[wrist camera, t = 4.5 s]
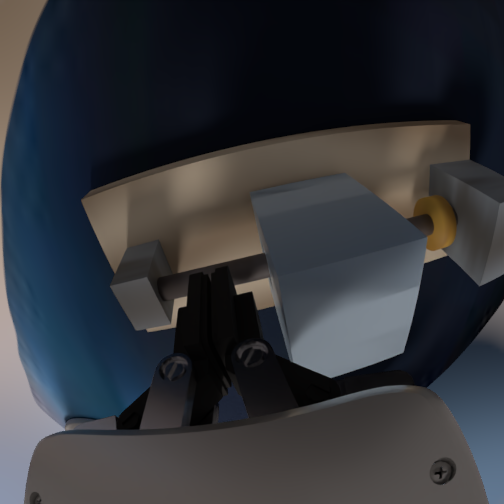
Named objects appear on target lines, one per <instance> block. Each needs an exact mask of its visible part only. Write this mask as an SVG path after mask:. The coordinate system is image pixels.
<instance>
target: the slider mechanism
mask: <svg viewBox="0 0 504 504" xmlns="http://www.w3.org/2000/svg"><path fill="white" fill-rule="evenodd" d="M341 173H346V174H347V175H349V176H350V177H352V178H353V179H355V180H356V181H357V182H359V183H360V184H361V185H363V186H364V187H366V188H367V189H368V190H370V191H371V192H372V193H374V194H375V195H376V196H378V197H379V198H380V199H382V200H383V201H384V202H385V203H387V204H388V205H389V206H391V207H392V208H393V209H394V210H396V211H397V212H398V213H399V214H401V215H402V216H403V217H404V218H406V219H407V220H408V221H409V222H410V223H412V224H413V225H414V226H415V227H416V228H418V229H419V230H420V231H421V232H422V233H423V234H425V235H426V236H427V237H428V238H427V245H426V252H425V259H424V263H426V262H429V261H432V260H435V259H438V258H441V257H444V256H447V255H448V256H449V257H450V258H452V259H453V260H454V261H455V262H456V263H457V264H458V265H459V266H460V267H461V268H462V269H463V270H464V271H465V272H466V273H467V274H468V275H469V276H470V277H471V278H472V279H473V280H474V281H475V282H476V283H477V284H478V285H479V286H481V285H483V284H485V283H487V282H489V281H491V280H493V279H495V278H497V277H499V276H501V275H503V274H504V176H502V175H500V174H498V173H496V172H494V171H492V170H490V169H488V168H486V167H484V166H482V165H480V164H478V163H476V162H473V161H471V160H470V124H467V123H463V122H460V121H456V120H436V121H410V122H393V123H381V124H370V125H360V126H351V127H343V128H335V129H328V130H321V131H314V132H308V133H301V134H295V135H290V136H284V137H279V138H273V139H268V140H263V141H259V142H254V143H249V144H245V145H240V146H236V147H231V148H227V149H223V150H219V151H215V152H211V153H207V154H203V155H199V156H196V157H192V158H188V159H185V160H181V161H178V162H174V163H171V164H168V165H164V166H161V167H158V168H154V169H151V170H148V171H145V172H142V173H139V174H136V175H133V176H130V177H127V178H124V179H121V180H118V181H116V182H113V183H110V184H107V185H105V186H102V187H99V188H97V189H94V190H91V191H90V192H89V193H88V194H87V195H86V196H85V197H84V198H83V199H82V200H81V201H82V204H83V206H84V209H85V211H86V213H87V216H88V218H89V220H90V223H91V225H92V227H93V229H94V232H95V234H96V236H97V238H98V240H99V242H100V245H101V247H102V249H103V251H104V253H105V255H106V257H107V259H108V261H109V263H110V265H111V267H112V269H113V271H114V273H115V275H114V277H113V280H112V282H111V284H110V287H111V289H112V291H113V293H114V294H115V296H116V298H117V300H118V301H119V303H120V305H121V306H122V308H123V310H124V311H125V313H126V315H127V316H128V318H129V320H130V321H131V323H132V324H133V326H134V328H135V329H136V331H137V330H143V329H146V330H147V331H148V332H152V331H158V330H163V329H169V328H174V327H176V323H177V313H178V309H179V308H180V307H185V306H186V305H187V293H188V283H189V275H190V274H194V273H198V272H203V274H208V275H209V278H210V280H211V273H213V272H215V268H219V267H223V266H227V265H228V267H229V270H230V273H231V276H232V279H233V283H234V286H235V289H236V292H237V295H238V294H242V293H247V292H251V291H252V292H253V296H254V299H255V303H256V307H257V310H259V309H264V308H268V307H272V306H275V304H274V300H273V296H272V293H271V289H270V285H269V280H268V278H269V277H270V272H269V267H268V263H267V258H266V255H265V253H263V252H262V248H261V243H260V238H259V234H258V229H257V225H256V220H255V215H254V211H253V206H252V202H251V197H250V193H249V192H253V191H257V190H262V189H266V188H271V187H275V186H280V185H285V184H289V183H294V182H299V181H304V180H309V179H314V178H319V177H324V176H330V175H335V174H341Z"/></svg>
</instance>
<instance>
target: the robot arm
mask: <svg viewBox="0 0 504 504" xmlns="http://www.w3.org/2000/svg"><path fill="white" fill-rule="evenodd" d="M231 381H232V383H233V385H234V386H235V388H236V390H237V392H238V394H239V395H240V396H242V398H243V401H244V404H245V407H246V410H247V414H248V417H249V418H248V419H242V420H236V421H229V422H222V423H218V414H219V404H218V402H219V401H220V400H221V399H222V398H223V396H225V395H228V389H227V388H228V387H231ZM433 463H434V464H433ZM444 483H445V484H444ZM443 484H444V485H443ZM24 504H489V503H488V500H487V496H486V492H485V489H484V486H483V482H482V479H481V476H480V474H479V471H478V468H477V466H476V463H475V460H474V458H473V455H472V453H471V450H470V448H469V446H468V444H467V442H466V439H465V437H464V435H463V433H462V431H461V429H460V427H459V425H458V423H457V422H456V420H455V418H454V417H453V415H452V413H451V411H450V410H449V409H448V407H447V406H446V404H445V403H444V402H443V400H442V399H441V398H440V397H439V396H438V395H437V394H436V393H434V392H433V391H431V390H430V389H427V388H425V387H420V386H415V385H414V381H413V379H412V377H411V376H410V375H409V374H408V373H407V372H404V371H401V370H393V371H387V372H380V373H374V374H366V375H359V376H350V377H345V380H336V381H335V380H333V379H331V378H330V377H327V376H325V375H322V374H320V373H317V372H315V371H312V370H310V369H308V368H305V367H303V366H300V365H298V364H296V363H293V362H291V361H289V360H287V359H284V358H282V357H280V356H277V355H275V353H274V351H273V349H272V347H271V345H270V344H269V343H268V342H267V341H265V340H264V338H263V334H262V329H261V324H260V319H259V315H258V311H257V307H256V303H255V299H254V296H253V292H252V291H251V292H247V293H242V294H238V295H237V292H236V289H235V286H234V283H233V279H232V276H231V273H230V270H229V267H228V265H227V266H223V267H219V268H215V272H213V273H211V280H210V278H209V275H208V274H203V272H198V273H194V274H190V275H189V283H188V293H187V305H186V306H185V307H180V308H179V309H178V313H177V323H176V332H175V342H174V353H173V354H170V355H168V356H166V357H164V358H163V359H162V360H161V361H160V362H159V363H158V365H157V367H156V369H155V373H154V376H153V380H152V384H151V386H150V387H149V388H148V389H147V390H146V391H145V392H144V393H143V394H142V395H141V396H140V397H139V398H137V399H136V400H135V401H134V402H133V403H132V404H131V405H130V406H129V407H128V408H126V409H125V410H124V411H123V412H122V413H121V415H120V416H119V417H116V416H111V417H107V418H103V419H99V420H93V419H86V418H73V419H69V420H68V421H67V422H66V425H65V431H62V432H58V433H55V434H52V435H49V436H47V437H45V438H44V439H42V440H41V441H40V442H39V443H38V444H37V446H36V448H35V450H34V453H33V455H32V459H31V462H30V467H29V471H28V477H27V483H26V490H25V500H24Z"/></svg>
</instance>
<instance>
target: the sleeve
mask: <svg viewBox="0 0 504 504" xmlns="http://www.w3.org/2000/svg"><path fill="white" fill-rule="evenodd" d="M249 193H250V197H251V202H252V206H253V211H254V215H255V220H256V225H257V229H258V234H259V238H260V243H261V248H262V252H263V253H265V255H266V258H267V263H268V267H269V272H270V277H269V278H268V280H269V285H270V289H271V293H272V296H273V300H274V304H275V307H276V311H277V314H278V318H279V322H280V325H281V329H282V333H283V336H284V340H285V344H286V347H287V351H288V355H289V358H290V361H291V362H293V363H296V364H298V365H300V366H303V367H305V368H308V369H310V370H312V371H315V372H317V373H320V374H322V375H325V376H327V377H330V378H332V377H335V376H339V375H342V374H345V373H348V372H351V371H354V370H357V369H360V368H363V367H366V366H369V365H372V364H375V363H377V362H380V361H383V360H385V359H388V358H391V357H393V356H396V355H398V354H401V353H403V352H404V348H405V345H406V341H407V338H408V334H409V330H410V326H411V323H412V319H413V314H414V310H415V306H416V301H417V297H418V292H419V287H420V282H421V277H422V271H423V265H424V259H425V252H426V245H427V238H428V237H427V236H426V235H425V234H423V233H422V232H421V231H420V230H419V229H418V228H416V227H415V226H414V225H413V224H412V223H410V222H409V221H408V220H407V219H406V218H404V217H403V216H402V215H401V214H399V213H398V212H397V211H396V210H394V209H393V208H392V207H391V206H389V205H388V204H387V203H385V202H384V201H383V200H382V199H380V198H379V197H378V196H376V195H375V194H374V193H372V192H371V191H370V190H368V189H367V188H366V187H364V186H363V185H361V184H360V183H359V182H357V181H356V180H355V179H353V178H352V177H350V176H349V175H347V174H346V173H341V174H335V175H330V176H324V177H319V178H314V179H309V180H304V181H299V182H294V183H289V184H285V185H280V186H275V187H271V188H266V189H262V190H257V191H253V192H249Z"/></svg>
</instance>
